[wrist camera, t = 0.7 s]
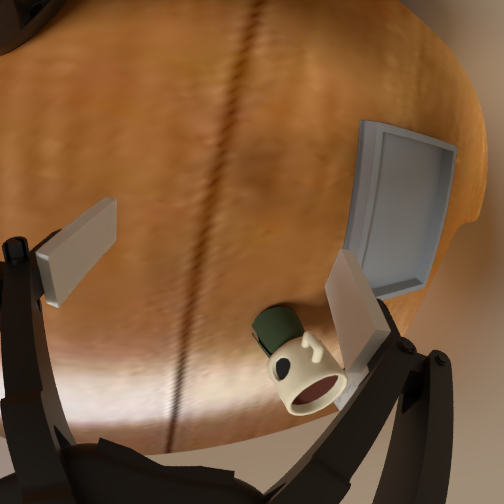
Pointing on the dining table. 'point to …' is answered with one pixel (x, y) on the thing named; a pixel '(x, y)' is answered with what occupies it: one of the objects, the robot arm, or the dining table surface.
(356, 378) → the teacup
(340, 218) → the dining table surface
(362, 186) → the tray
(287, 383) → the character mug
